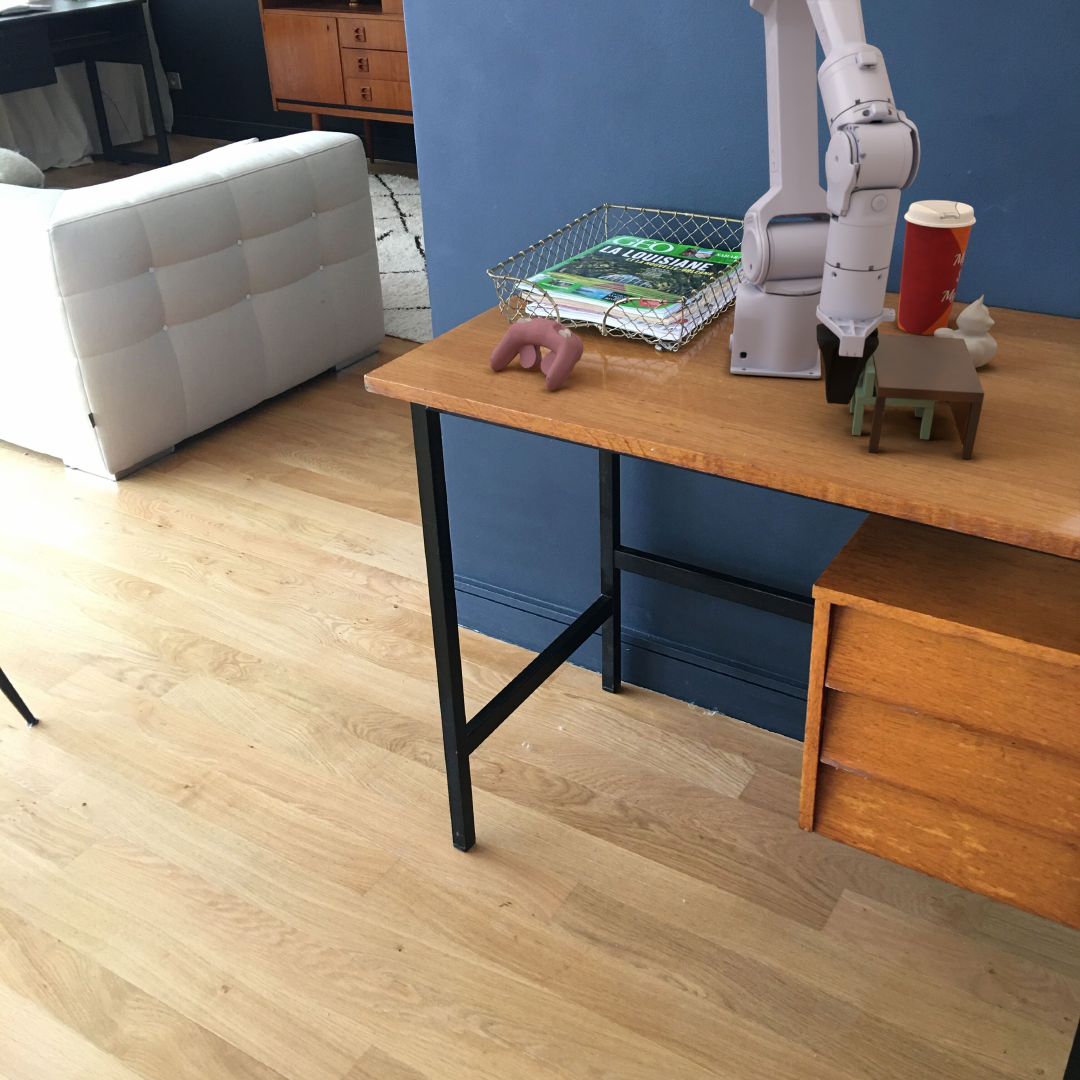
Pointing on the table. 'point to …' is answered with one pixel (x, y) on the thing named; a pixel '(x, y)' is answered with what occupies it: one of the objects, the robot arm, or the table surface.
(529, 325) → the video game controller
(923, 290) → the paper cup
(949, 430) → the table surface
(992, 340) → the white sculpted figure
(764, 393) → the table surface
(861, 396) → the green seat
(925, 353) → the desk
